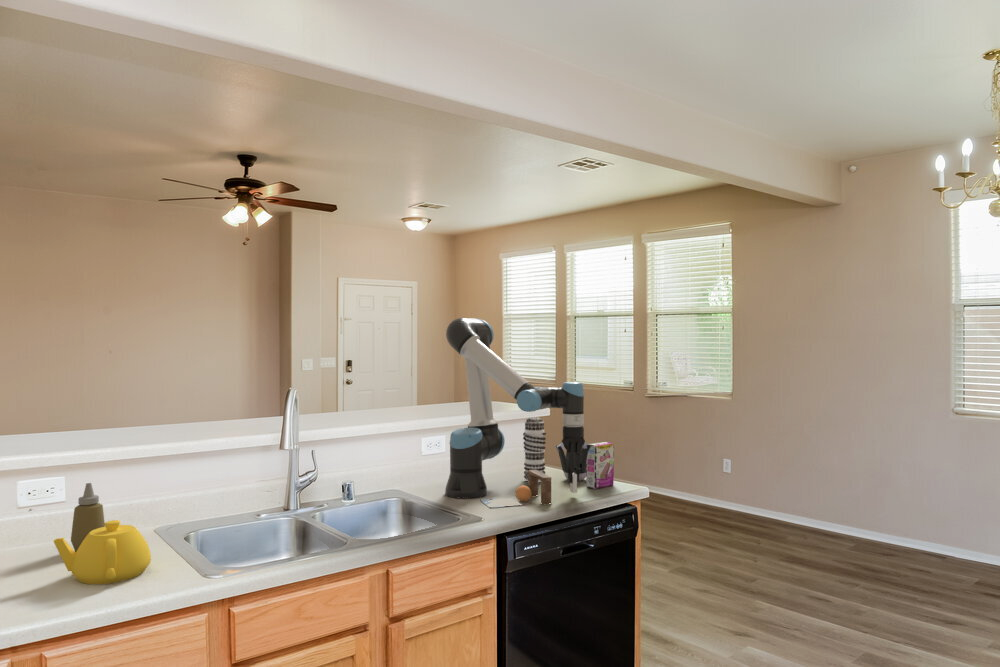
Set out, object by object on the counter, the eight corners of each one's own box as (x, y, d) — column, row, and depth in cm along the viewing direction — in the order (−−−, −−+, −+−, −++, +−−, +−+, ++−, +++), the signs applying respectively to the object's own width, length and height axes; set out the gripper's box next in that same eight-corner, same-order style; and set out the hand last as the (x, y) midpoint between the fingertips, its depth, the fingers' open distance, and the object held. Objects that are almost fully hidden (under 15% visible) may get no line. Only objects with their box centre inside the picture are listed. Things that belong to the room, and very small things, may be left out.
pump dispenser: (588, 477, 273) (587, 440, 274) (588, 482, 263) (588, 444, 263) (562, 477, 274) (562, 439, 275) (562, 482, 264) (562, 443, 264)
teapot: (150, 559, 172) (150, 509, 172) (151, 582, 156) (151, 527, 156) (58, 572, 163) (58, 519, 163) (47, 598, 146) (48, 539, 147)
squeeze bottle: (66, 557, 174) (66, 487, 174) (76, 547, 182) (76, 481, 182) (101, 554, 177) (101, 485, 177) (109, 545, 184) (109, 479, 185)
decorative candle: (535, 477, 274) (535, 416, 274) (551, 481, 267) (550, 418, 267) (518, 480, 268) (518, 417, 269) (533, 484, 261) (533, 419, 261)
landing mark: (479, 500, 235) (479, 499, 235) (512, 497, 238) (512, 497, 238) (490, 508, 223) (490, 507, 223) (523, 505, 227) (523, 505, 227)
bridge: (543, 505, 228) (543, 477, 228) (528, 495, 241) (528, 470, 242) (551, 504, 229) (551, 477, 229) (536, 495, 242) (536, 469, 243)
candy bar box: (596, 489, 251) (595, 445, 251) (585, 487, 255) (585, 444, 255) (614, 485, 259) (614, 442, 259) (604, 483, 262) (604, 441, 262)
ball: (525, 501, 236) (511, 497, 234) (530, 486, 237) (516, 482, 235) (530, 505, 231) (516, 501, 229) (535, 489, 231) (521, 485, 230)
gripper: (560, 427, 234) (560, 495, 234) (594, 426, 238) (594, 492, 238) (552, 425, 241) (552, 490, 241) (585, 423, 245) (585, 488, 245)
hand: (573, 491), depth 239 cm, fingers closed
